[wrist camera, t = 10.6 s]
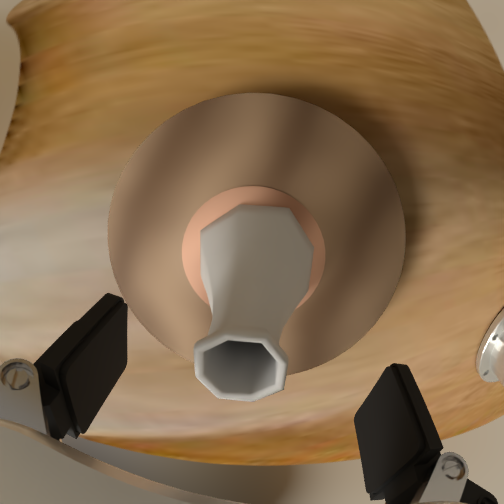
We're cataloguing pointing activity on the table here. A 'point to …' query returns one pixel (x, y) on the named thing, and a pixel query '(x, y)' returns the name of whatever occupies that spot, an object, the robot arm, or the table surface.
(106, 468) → the robot arm
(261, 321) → the flask
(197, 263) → the turntable
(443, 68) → the table surface
